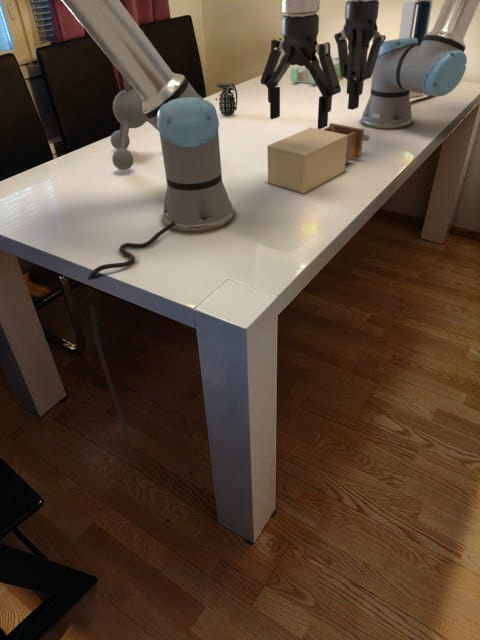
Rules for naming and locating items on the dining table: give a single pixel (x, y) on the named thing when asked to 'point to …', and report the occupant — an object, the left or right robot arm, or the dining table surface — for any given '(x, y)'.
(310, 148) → the tan cardboard box
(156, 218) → the dining table surface
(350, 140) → the drawer
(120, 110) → the molecular model
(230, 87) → the grenade
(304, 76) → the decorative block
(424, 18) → the electronic device
